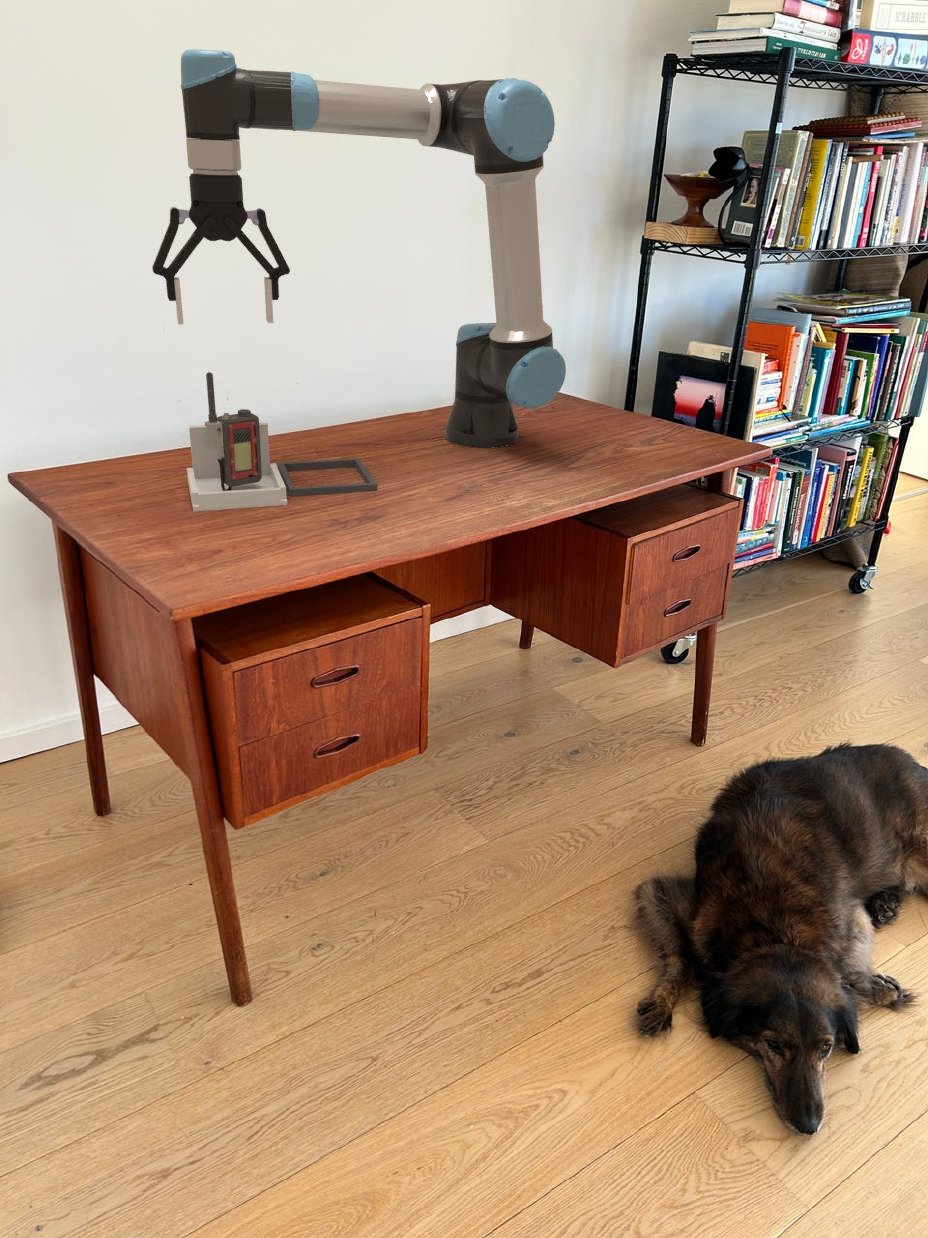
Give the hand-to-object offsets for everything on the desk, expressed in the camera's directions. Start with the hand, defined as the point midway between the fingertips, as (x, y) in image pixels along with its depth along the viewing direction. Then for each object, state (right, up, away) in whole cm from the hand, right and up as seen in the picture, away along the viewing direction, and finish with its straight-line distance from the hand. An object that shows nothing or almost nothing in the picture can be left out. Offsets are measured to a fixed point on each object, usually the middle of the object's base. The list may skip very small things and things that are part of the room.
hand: (225, 322), depth 150 cm
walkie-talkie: (-1, -24, +12) cm, 27 cm away
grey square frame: (+13, -22, +21) cm, 33 cm away
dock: (-1, -25, +13) cm, 28 cm away
